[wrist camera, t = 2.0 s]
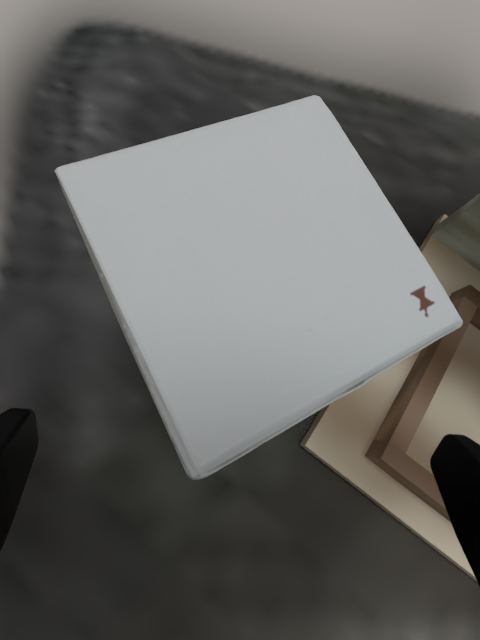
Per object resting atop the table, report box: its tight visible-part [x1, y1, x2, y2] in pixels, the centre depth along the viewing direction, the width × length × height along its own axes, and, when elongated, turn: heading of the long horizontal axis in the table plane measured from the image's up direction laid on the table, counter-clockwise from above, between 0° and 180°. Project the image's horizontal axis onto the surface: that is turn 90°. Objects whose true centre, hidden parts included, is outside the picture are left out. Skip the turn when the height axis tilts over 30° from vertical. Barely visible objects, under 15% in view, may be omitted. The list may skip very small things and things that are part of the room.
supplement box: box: [55, 95, 463, 480], centre depth 14 cm, size 7×7×13 cm
